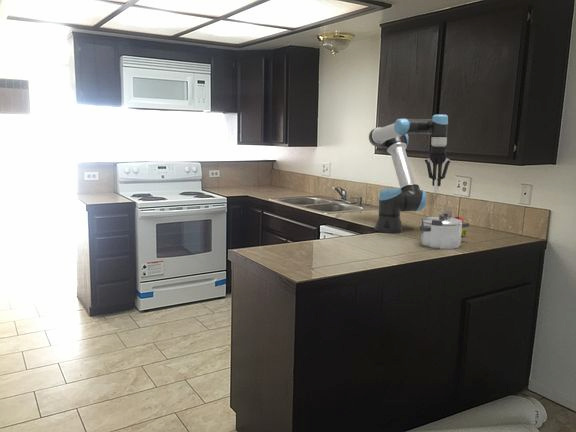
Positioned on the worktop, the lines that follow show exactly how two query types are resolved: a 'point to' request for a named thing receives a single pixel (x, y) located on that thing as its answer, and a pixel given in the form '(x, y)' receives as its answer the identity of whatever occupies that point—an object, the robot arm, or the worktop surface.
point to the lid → (442, 219)
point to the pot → (441, 235)
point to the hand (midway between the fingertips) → (436, 192)
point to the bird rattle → (462, 222)
